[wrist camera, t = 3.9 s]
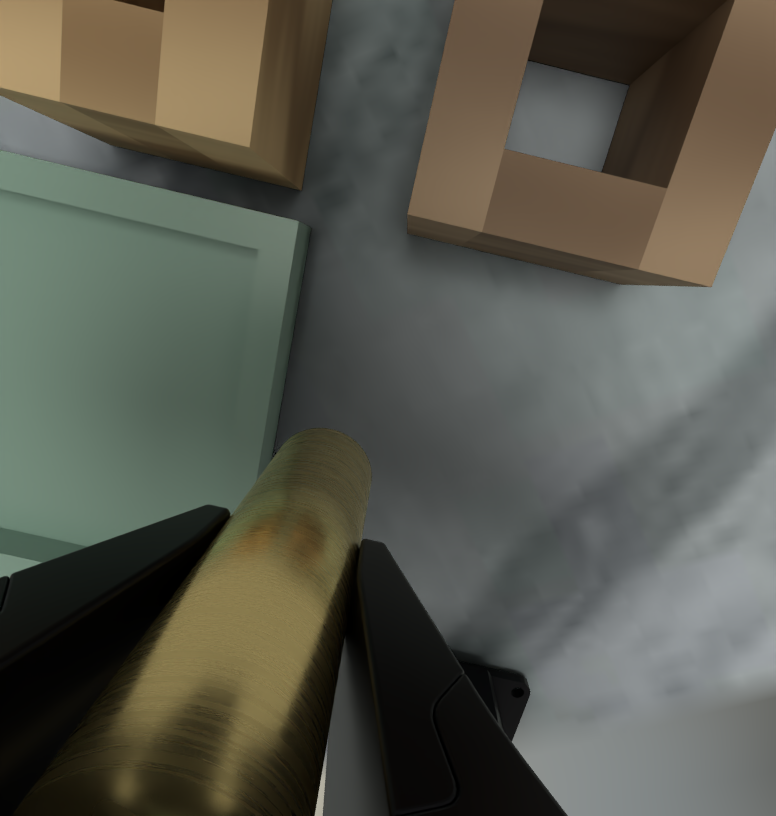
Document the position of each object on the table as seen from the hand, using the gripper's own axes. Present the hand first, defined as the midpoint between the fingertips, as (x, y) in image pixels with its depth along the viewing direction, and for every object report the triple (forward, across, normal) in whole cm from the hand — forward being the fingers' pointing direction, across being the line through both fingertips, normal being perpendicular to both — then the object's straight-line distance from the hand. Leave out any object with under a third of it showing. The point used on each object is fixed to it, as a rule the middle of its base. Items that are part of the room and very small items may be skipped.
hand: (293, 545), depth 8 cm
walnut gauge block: (+8, -4, -10) cm, 13 cm away
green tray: (+8, +9, +1) cm, 12 cm away
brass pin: (+3, 0, 0) cm, 3 cm away
